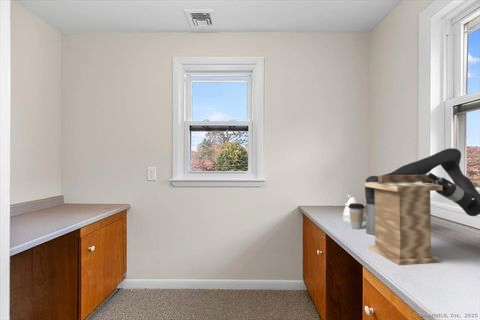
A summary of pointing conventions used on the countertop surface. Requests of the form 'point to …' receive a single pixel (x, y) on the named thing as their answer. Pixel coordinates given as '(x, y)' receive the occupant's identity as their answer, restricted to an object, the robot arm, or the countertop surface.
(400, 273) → the countertop surface
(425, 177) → the walnut bar
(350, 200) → the honey pot
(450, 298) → the countertop surface
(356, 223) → the coffee cup
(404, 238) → the oak lectern
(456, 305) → the countertop surface
